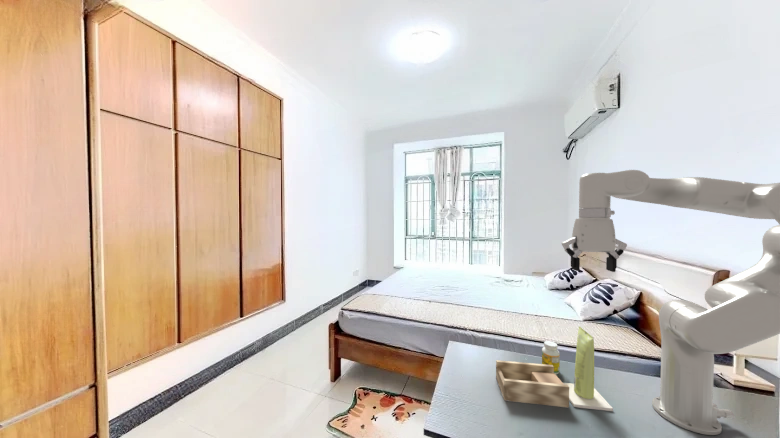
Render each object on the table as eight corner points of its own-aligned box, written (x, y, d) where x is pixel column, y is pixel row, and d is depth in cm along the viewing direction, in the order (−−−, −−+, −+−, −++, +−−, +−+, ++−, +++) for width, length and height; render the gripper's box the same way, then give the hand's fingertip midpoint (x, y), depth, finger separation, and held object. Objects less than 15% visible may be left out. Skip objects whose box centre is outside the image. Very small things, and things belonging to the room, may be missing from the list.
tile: (592, 387, 84) (592, 385, 84) (612, 411, 74) (613, 408, 74) (557, 384, 86) (557, 382, 86) (573, 406, 76) (573, 404, 76)
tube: (599, 396, 79) (600, 332, 78) (592, 403, 76) (593, 336, 76) (577, 386, 84) (578, 325, 83) (570, 392, 81) (571, 329, 80)
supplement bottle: (563, 374, 91) (563, 347, 91) (547, 375, 91) (548, 347, 90) (552, 365, 96) (553, 339, 96) (538, 366, 96) (538, 340, 96)
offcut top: (554, 380, 84) (554, 373, 84) (565, 394, 78) (565, 386, 78) (531, 379, 85) (531, 372, 85) (540, 393, 79) (540, 384, 79)
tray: (552, 383, 86) (552, 365, 86) (569, 407, 76) (569, 387, 75) (495, 377, 89) (496, 360, 89) (504, 400, 78) (504, 380, 78)
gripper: (617, 214, 82) (616, 268, 83) (557, 214, 85) (556, 267, 85) (635, 214, 75) (634, 274, 75) (569, 214, 78) (568, 272, 78)
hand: (592, 270), depth 80 cm, fingers open, 9 cm apart
